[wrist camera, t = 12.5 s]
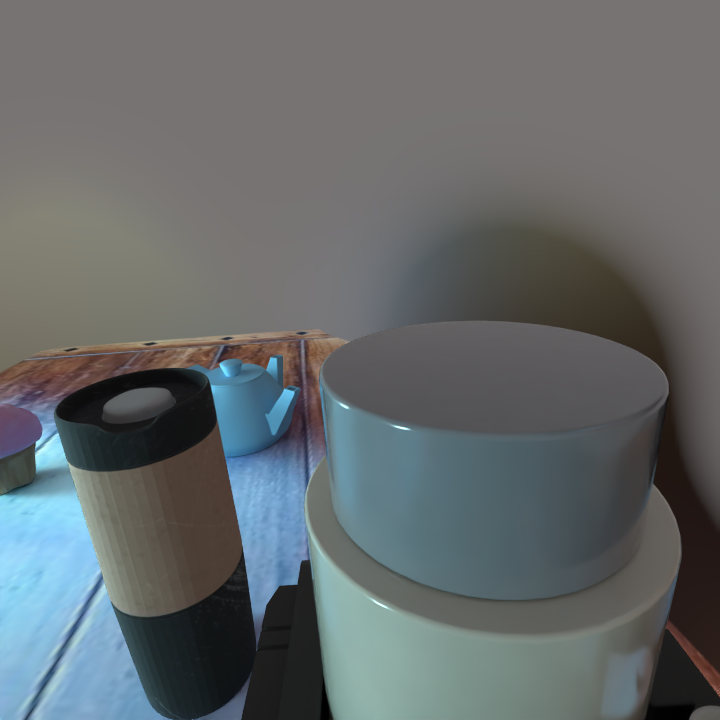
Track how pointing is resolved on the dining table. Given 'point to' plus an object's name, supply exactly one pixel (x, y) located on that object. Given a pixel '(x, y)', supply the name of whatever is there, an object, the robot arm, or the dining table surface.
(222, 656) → the travel mug
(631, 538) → the cylinder
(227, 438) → the teapot
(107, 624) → the dining table surface
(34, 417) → the cupcake
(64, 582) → the dining table surface
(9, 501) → the dining table surface
